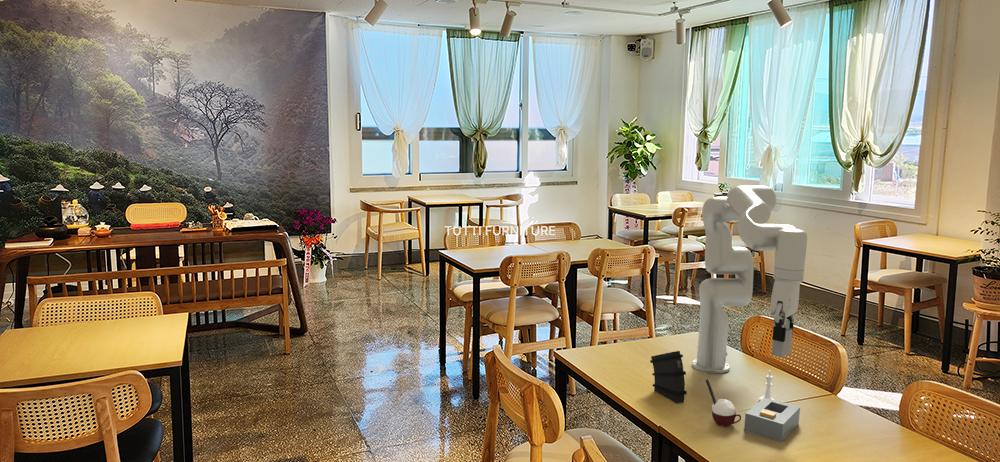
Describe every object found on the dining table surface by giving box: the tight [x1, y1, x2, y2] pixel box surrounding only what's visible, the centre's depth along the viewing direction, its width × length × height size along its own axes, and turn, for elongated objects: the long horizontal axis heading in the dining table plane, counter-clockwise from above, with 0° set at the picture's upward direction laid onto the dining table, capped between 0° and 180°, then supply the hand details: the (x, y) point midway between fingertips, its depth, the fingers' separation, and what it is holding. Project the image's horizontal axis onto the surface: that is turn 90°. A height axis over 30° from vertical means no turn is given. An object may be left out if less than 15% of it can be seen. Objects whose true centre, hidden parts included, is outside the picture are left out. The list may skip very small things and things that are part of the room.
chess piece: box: [758, 369, 777, 402], centre depth 204 cm, size 5×5×10 cm
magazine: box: [649, 350, 687, 404], centre depth 206 cm, size 4×13×15 cm, turn 26°
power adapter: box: [770, 314, 794, 358], centre depth 185 cm, size 3×5×12 cm, turn 128°
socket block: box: [743, 398, 801, 443], centre depth 186 cm, size 15×10×6 cm, turn 140°
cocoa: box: [705, 377, 742, 427], centre depth 187 cm, size 10×6×12 cm
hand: (782, 337), depth 185 cm, fingers closed on power adapter, 5 cm apart
